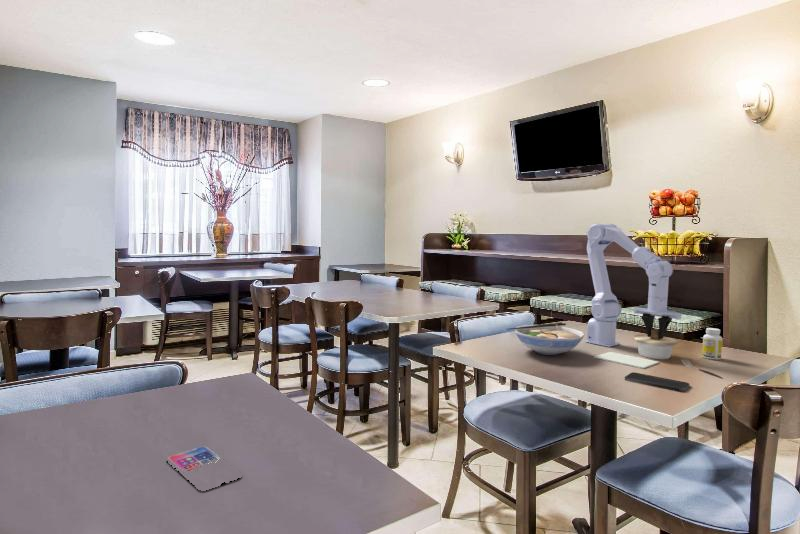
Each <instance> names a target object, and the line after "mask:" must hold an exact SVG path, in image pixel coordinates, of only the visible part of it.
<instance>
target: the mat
mask: <svg viewBox="0 0 800 534" xmlns="http://www.w3.org/2000/svg"><path fill="white" fill-rule="evenodd" d="M593 358H594V359H599V360H603V361H607V362H610V363H616V364H621V365H624V366H630V367H632V368H633V367H634V368H638V369H642V370H643V369H646V368H649V367H652V366H654V365H657V364H660V361H657V360H654V359H652V360H651V359H648V358H643V357H637V356H632V355H627V354H624V353H623V354H622V353H619V352H614V351H607V352H605V353H601V354H598V355H594V356H593Z"/></svg>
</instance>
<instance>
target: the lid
mask: <svg viewBox="0 0 800 534" xmlns="http://www.w3.org/2000/svg"><path fill="white" fill-rule="evenodd" d="M633 340H635V341H636V342H637V341H639V342H642V343H647V344H654V345H674V346H676V345H678V340H676V338H675V339H674V338H672V337H668V336H664V337H663V339H659V328H653V329H651V337H648V336H647V334H638V335H634V337H633Z"/></svg>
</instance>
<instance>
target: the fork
mask: <svg viewBox="0 0 800 534" xmlns="http://www.w3.org/2000/svg"><path fill="white" fill-rule="evenodd" d="M680 360H681V361H682V363H683V365H684V366H685V367H687V368H688V367H692V368H693V369H695V370H698V371H700V372H703V373H704V374H707V375H711V376H712V377H713V376H714V377H716V378H719V379H724V377H722V376H720V375H718V374H715V373H714V372H711V371H708V370H705V369H701V368H698V367H694V365H693V364H692V363H691V362H690V360H689V359H688V358H685V359H684V358H683V359H682V358H681V359H680Z"/></svg>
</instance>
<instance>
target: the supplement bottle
mask: <svg viewBox="0 0 800 534" xmlns="http://www.w3.org/2000/svg"><path fill="white" fill-rule="evenodd" d="M705 333H706V334H704V335H703V337H702V351H701V353H702V354H701V355H702V358H704V359H706V360H713V361H714V360H721V359H722V348H723V337H722V336H721V335H720V334H721V329H719V328H715V327H714V328H713V327H706V329H705Z"/></svg>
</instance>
